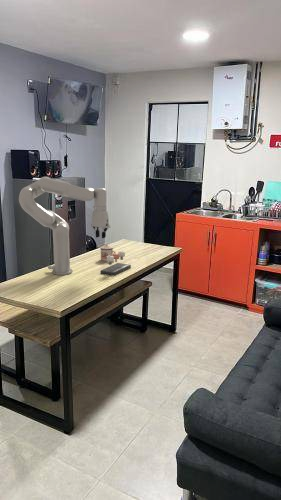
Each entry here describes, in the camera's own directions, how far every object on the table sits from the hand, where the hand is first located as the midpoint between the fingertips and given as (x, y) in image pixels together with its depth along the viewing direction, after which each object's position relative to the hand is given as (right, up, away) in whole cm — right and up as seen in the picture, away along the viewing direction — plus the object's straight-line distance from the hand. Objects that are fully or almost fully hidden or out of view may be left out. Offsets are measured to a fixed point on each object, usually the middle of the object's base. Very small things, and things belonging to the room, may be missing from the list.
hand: (100, 237), depth 238 cm
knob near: (+6, -17, 0) cm, 18 cm away
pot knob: (+9, -16, +6) cm, 19 cm away
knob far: (+13, -14, +12) cm, 22 cm away
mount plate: (+9, -21, +7) cm, 24 cm away
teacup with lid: (+2, -15, +32) cm, 36 cm away
